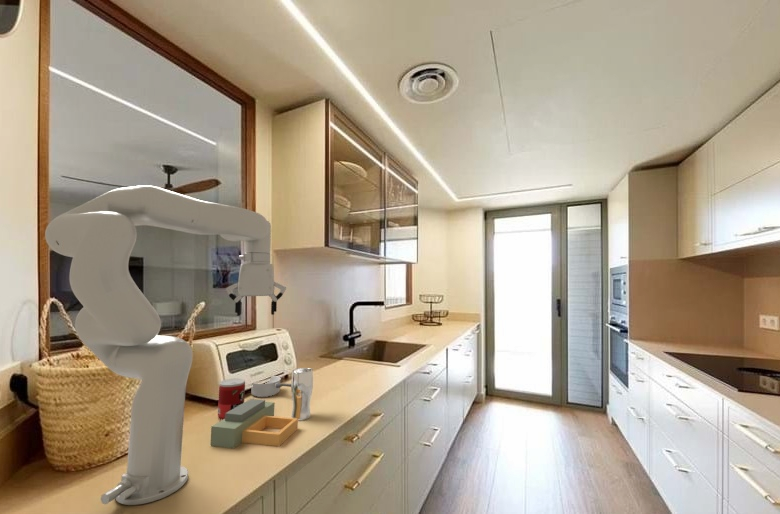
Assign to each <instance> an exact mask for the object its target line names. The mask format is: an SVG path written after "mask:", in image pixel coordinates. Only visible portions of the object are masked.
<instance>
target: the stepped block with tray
mask: <svg viewBox="0 0 780 514" xmlns="http://www.w3.org/2000/svg"><path fill="white" fill-rule="evenodd" d="M275 404H276V403H275V402H274V401H273V402H272V401H266V400H265V399H257V398H256V399H255V398H249V399H247V401H244V403H243V404H241V405H239V406H237V407H236V408H234V409H232V410H230V411H228V412H227V413H225V419H223V420H221V419H220V421H218V422H216V423H215V424H213V425H211V427H210V430H211V431H210V443H209V444H210V445H211V447H217V446H219V447H218V448H225V449H226V447H227V449H235V448H236V447H237V446H239V445H241V444H242V443H245V444H254V445H263V446H264V445H265V446H270V447H271V446H273V447H280V445H282V444H283V443H284V442H285V441H286V440H287V439H288V438H289V437H291V436H292V435H293V434H294V433H295V432H296V431H297V430H298V427H299V425H298V423H299V421H298V418H291V417H288V416H287V417H285V416H275ZM265 428H269V429H270V428H271V429H280V430H279V431H278V432H272V431H267V430H266V431H265V430H264V429H265Z"/></svg>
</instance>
